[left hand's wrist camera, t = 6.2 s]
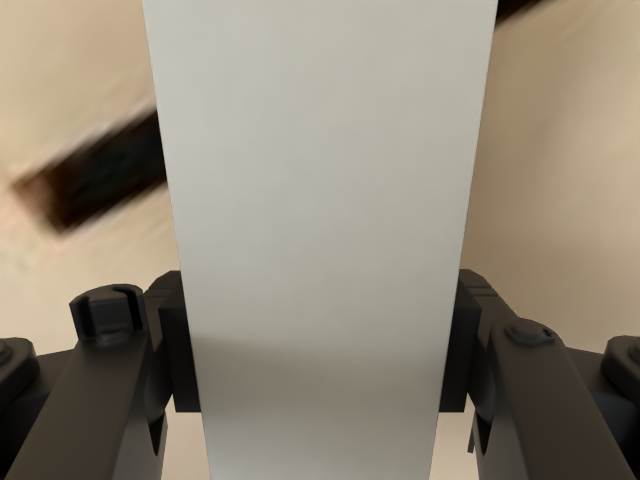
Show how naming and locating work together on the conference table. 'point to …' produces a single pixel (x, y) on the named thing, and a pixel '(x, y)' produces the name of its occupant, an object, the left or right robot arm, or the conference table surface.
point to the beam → (319, 220)
